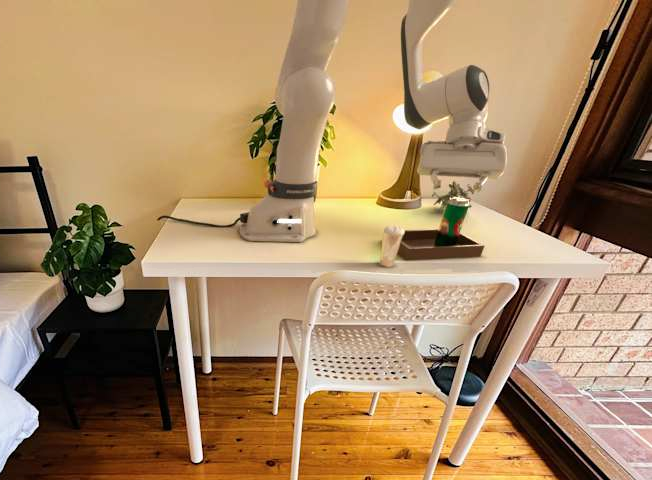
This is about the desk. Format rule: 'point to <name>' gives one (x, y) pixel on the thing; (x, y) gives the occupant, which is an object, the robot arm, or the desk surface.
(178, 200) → the desk surface
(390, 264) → the milkshake
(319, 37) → the robot arm
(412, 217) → the desk surface
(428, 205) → the desk surface
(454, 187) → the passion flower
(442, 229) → the soda can
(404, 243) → the tray
